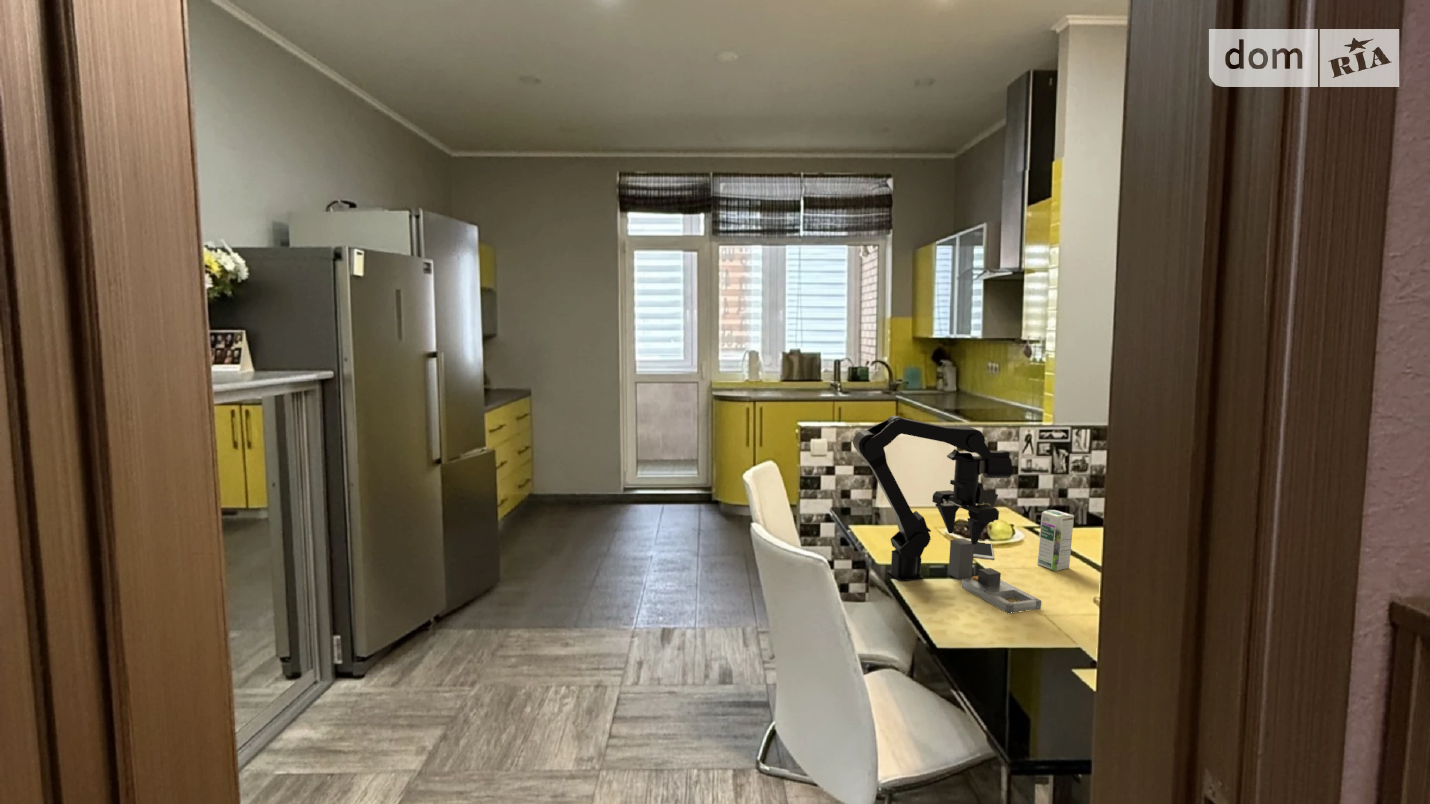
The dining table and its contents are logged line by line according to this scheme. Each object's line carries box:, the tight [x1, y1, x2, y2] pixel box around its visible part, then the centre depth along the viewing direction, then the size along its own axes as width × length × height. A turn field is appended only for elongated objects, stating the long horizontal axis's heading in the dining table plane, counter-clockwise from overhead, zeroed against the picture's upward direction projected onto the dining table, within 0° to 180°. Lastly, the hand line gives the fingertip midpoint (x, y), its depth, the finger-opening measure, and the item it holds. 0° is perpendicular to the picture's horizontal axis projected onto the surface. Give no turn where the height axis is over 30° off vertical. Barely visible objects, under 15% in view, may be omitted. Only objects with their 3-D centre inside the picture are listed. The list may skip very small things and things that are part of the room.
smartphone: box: [965, 538, 995, 561], centre depth 205 cm, size 7×16×1 cm, turn 162°
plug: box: [947, 537, 974, 580], centre depth 184 cm, size 4×4×9 cm
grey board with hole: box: [961, 567, 1042, 614], centre depth 170 cm, size 9×16×5 cm, turn 19°
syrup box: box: [1037, 509, 1075, 572], centre depth 192 cm, size 6×6×14 cm
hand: (962, 538), depth 183 cm, fingers open, 9 cm apart
